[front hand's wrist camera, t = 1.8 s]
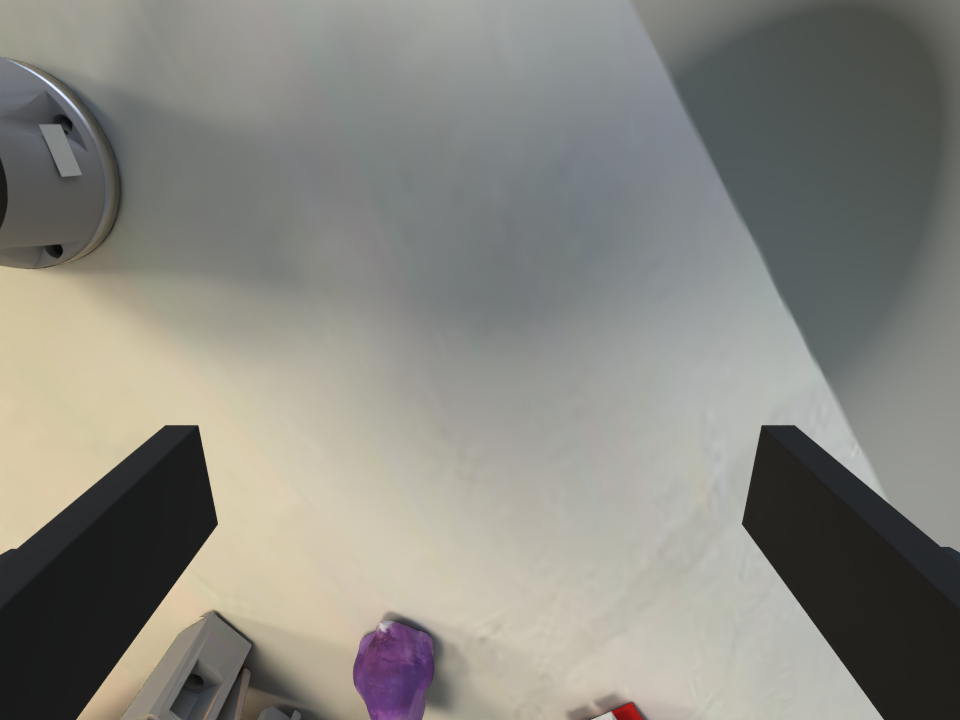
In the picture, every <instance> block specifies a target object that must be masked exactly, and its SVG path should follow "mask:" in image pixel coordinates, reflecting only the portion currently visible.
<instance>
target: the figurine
mask: <svg viewBox="0 0 960 720" xmlns="http://www.w3.org/2000/svg"><path fill="white" fill-rule="evenodd" d="M433 674H434V647H433V641H432V638H431V637H430V636H429V635H428V634H427V633H424V632H422V631H417V630H415V629H413V628H411V627H409V626H406V625H404V624H401V623H398V622H395V621H382V622H380V623H379V624H378V625H377V628H376V631H375V632H374V633H371V634H369V635H366V636H364V637H363V638H362V639H361V641H360V646H359V651H358V655H357V658H356V660H355V664H354V669H353V679H354V685H355V687H356V689H357V691H358V693H359V694H360V695H361V697H362V698H363V700H364V702H365V704H366V706H367V709H368V712H369V715H370V718H371V720H422V717H423V714H424V710H425V691H426V689H427V688H428V687H429V685H430V684H431V682H432V679H433Z"/></svg>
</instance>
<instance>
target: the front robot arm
mask: <svg viewBox="0 0 960 720" xmlns="http://www.w3.org/2000/svg"><path fill="white" fill-rule="evenodd" d="M119 199H120V181H119V174H118V168H117V164H116V160H115V157H114V154H113V151H112V148H111V146H110V143H109V141H108V139H107V137H106V135H105V133H104V131H103V129H102V128H101V126H100V125H99V123H98V121H97V120H96V118H95V117H94V116H93V114H92V113H91V112H90V110H89V109H88V108H87V107H86V106H85V104H84V103H83V102H82V101H81V100H80V99H79V98H78V97H77V96H76V95H75V94H74V93H73V92H72V91H70V90H69V89H68V88H67V87H66V86H65V85H63V84H62V83H61V82H59V81H58V80H56V79H55V78H53V77H52V76H50V75H49V74H47V73H45V72H43V71H41V70H39V69H37V68H36V67H33V66H31V65H28V64H26V63H23V62H20V61H16V60H13V59H8V58H4V57H0V266H7V267H14V268H24V269H39V268H47V267H51V266H55V265H60V264H64V263H68V262H71V261H74V260H77V259H79V258H81V257H83V256H85V255H87V254H88V253H90V252H91V251H93V250H94V249H95V248H96V247H97V246H98V245H99V244H100V243H101V242H102V241H103V240H104V239H105V237H106V236H107V235H108V233H109V231H110V229H111V228H112V226H113V223H114V221H115V218H116V215H117V211H118V206H119ZM217 525H218V521H217V516H216V511H215V506H214V501H213V496H212V491H211V486H210V481H209V476H208V471H207V466H206V461H205V457H204V452H203V447H202V442H201V437H200V432H199V427H198V425H165V426H164V427H163V428H162V429H160V430H159V431H158V432H157V433H156V434H154V435H153V436H152V437H151V438H150V439H148V440H147V441H146V442H145V443H144V444H142V445H141V446H140V447H139V448H138V449H136V450H135V451H134V452H133V453H132V454H130V455H129V456H128V457H127V458H126V459H124V460H123V461H122V462H121V463H120V464H118V465H117V466H116V467H115V468H114V469H112V470H111V471H110V472H109V473H108V474H106V475H105V476H104V477H103V478H102V479H100V480H99V481H98V482H97V483H96V484H94V485H93V486H92V487H91V488H90V489H88V490H87V491H86V492H85V493H84V494H82V495H81V496H80V497H79V498H78V499H76V500H75V501H74V502H73V503H71V504H70V505H69V506H68V507H67V508H65V509H64V510H63V511H62V512H61V513H59V514H58V515H57V516H56V517H55V518H53V519H52V520H51V521H50V522H49V523H47V524H46V525H45V526H44V527H43V528H41V529H40V530H39V531H38V532H37V533H35V534H34V535H33V536H32V537H31V538H29V539H28V540H27V541H26V542H25V543H23V544H22V545H21V546H20V547H19V548H17V549H10V550H8V551H6V552H5V553H3V554H1V555H0V720H76V719H77V718H78V716H79V715H80V713H81V712H82V711H83V709H84V708H85V707H86V705H87V704H88V702H89V701H90V700H91V698H92V697H93V696H94V694H95V693H96V691H97V690H98V689H99V687H100V686H101V685H102V683H103V682H104V680H105V679H106V678H107V676H108V675H109V674H110V672H111V671H112V669H113V668H114V667H115V665H116V664H117V663H118V661H119V660H120V658H121V657H122V656H123V654H124V653H125V652H126V650H127V649H128V647H129V646H130V645H131V643H132V642H133V641H134V639H135V638H136V636H137V635H138V634H139V632H140V631H141V630H142V628H143V627H144V625H145V624H146V623H147V621H148V620H149V618H150V617H151V616H152V614H153V613H154V612H155V610H156V609H157V607H158V606H159V605H160V603H161V602H162V601H163V599H164V598H165V596H166V595H167V594H168V592H169V591H170V590H171V588H172V587H173V585H174V584H175V583H176V581H177V580H178V579H179V577H180V576H181V574H182V573H183V572H184V570H185V569H186V568H187V566H188V565H189V563H190V562H191V561H192V559H193V558H194V557H195V555H196V554H197V552H198V551H199V550H200V548H201V547H202V546H203V544H204V543H205V541H206V540H207V539H208V537H209V536H210V535H211V533H212V532H213V530H214V529H215V528H216V526H217ZM742 525H743V526H744V528H745V529H746V530H747V532H748V533H749V535H750V536H751V537H752V539H753V540H754V541H755V543H756V544H757V546H758V547H759V548H760V550H761V551H762V552H763V554H764V555H765V557H766V558H767V559H768V561H769V562H770V563H771V565H772V566H773V568H774V569H775V570H776V572H777V573H778V574H779V576H780V577H781V579H782V580H783V581H784V583H785V584H786V585H787V587H788V588H789V590H790V591H791V592H792V594H793V595H794V596H795V598H796V599H797V601H798V602H799V603H800V605H801V606H802V607H803V609H804V610H805V612H806V613H807V614H808V616H809V617H810V618H811V620H812V621H813V623H814V624H815V625H816V627H817V628H818V630H819V631H820V632H821V634H822V635H823V636H824V638H825V639H826V641H827V642H828V643H829V645H830V646H831V647H832V649H833V650H834V652H835V653H836V654H837V656H838V657H839V658H840V660H841V661H842V663H843V664H844V665H845V667H846V668H847V669H848V671H849V672H850V674H851V675H852V676H853V678H854V679H855V680H856V682H857V683H858V685H859V686H860V687H861V689H862V690H863V691H864V693H865V694H866V696H867V697H868V698H869V700H870V701H871V702H872V704H873V705H874V707H875V708H876V709H877V711H878V712H879V713H880V715H881V716H882V718H883V719H884V720H960V553H959V552H958V551H956V550H954V549H952V548H950V547H940V546H939V545H938V544H937V543H935V542H934V541H933V540H932V539H931V538H929V537H928V536H927V535H926V534H924V533H923V532H922V531H921V530H920V529H919V528H917V527H916V526H915V525H914V524H913V523H911V522H910V521H909V520H908V519H907V518H905V517H904V516H903V515H902V514H901V513H899V512H898V511H897V510H896V509H895V508H893V507H892V506H891V505H890V504H889V503H887V502H886V501H885V500H884V499H882V498H881V497H880V496H879V495H878V494H876V493H875V492H874V491H873V490H872V489H870V488H869V487H868V486H867V485H866V484H864V483H863V482H862V481H861V480H860V479H858V478H857V477H856V476H855V475H854V474H852V473H851V472H850V471H849V470H848V469H846V468H845V467H844V466H843V465H842V464H840V463H839V462H838V461H837V460H836V459H834V458H833V457H832V456H831V455H830V454H828V453H827V452H826V451H825V450H824V449H822V448H821V447H820V446H819V445H818V444H816V443H815V442H814V441H813V440H812V439H810V438H809V437H808V436H807V435H806V434H804V433H803V432H802V431H801V430H800V429H798V428H797V427H796V426H795V425H762V427H761V432H760V437H759V442H758V447H757V451H756V456H755V461H754V466H753V471H752V476H751V481H750V486H749V491H748V496H747V501H746V506H745V511H744V516H743V521H742Z"/></svg>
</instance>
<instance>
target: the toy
mask: <svg viewBox="0 0 960 720" xmlns="http://www.w3.org/2000/svg"><path fill="white" fill-rule="evenodd" d="M592 720H643V719H642V717H641V716H640V714H639V713H638V711H637V710H636V708H635V707H634V705H633V704H632V703H629V704H627V705H625V706H623V707H620V708H618V709H616V710H614V711H611V712H609V713H606V714H604V715H601V716H599V717H597V718H594V719H592Z"/></svg>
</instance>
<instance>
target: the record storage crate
mask: <svg viewBox="0 0 960 720" xmlns="http://www.w3.org/2000/svg"><path fill="white" fill-rule="evenodd" d="M200 617H206V618H204V619H203V620H201V621H199V622H198V623H196V624H194V625H193V626H191V627H189V628H188V629H186V630H184V631H183V632H181V633H179V634H178V636H177V637H176V639H175V640H174V642H173V643H172V645H171V646H170V648H169V649H168V650H167V652H166V653H165V655H164V656H163V658H162V659H161V661H160V662H159V664H158V665H157V666H156V668H155V669H154V671H153V672H152V674H151V675H150V677H149V678H148V680H147V681H146V683H145V684H144V685H143V687H142V688H141V690H140V691H139V693H138V694H137V696H136V697H135V699H134V700H133V701H132V703H131V704H130V706H129V707H128V709H127V710H126V712H125V713H124V715H123V716H122V717H121V719H120V720H240V719H241V715H242V711H243V706H244V702H245V697H246V693H247V689H248V684H249V680H250V675H251V672H250V671H248V670H247V669H246V668H244V670H243V671H242V673H241V675H240V677H239V678H238V677H237V675H238V673H239V671H240V668H241V666H242V664H243V662H244V660H245V658H246V656H247V654H248V652H249V650H250V648H251V646H252V644H250V643H249V642H248V641H247V640H245V639H244V638H243V637H242V636H240V635H239V634H238V633H237V632H236V631H234V630H233V629H232V628H231V627H229V626H228V625H227V624H226V623H224V622H223V621H222V620H221V619H220V618H218V617H217V615H216V614H215V613H213V612H210V613H208V614H205V615H202V616H200ZM258 720H301V713H299V712H298V711H296V710H294V713H293V715H292V717H291V718H289V717H288V716H286V715H285V714H283V713H282V712H280V711H279V710H278V709H276V708H275V707H273V706H270V707H268V708H266V709H264V710H263V711H261V713H260V715H259V718H258Z"/></svg>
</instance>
